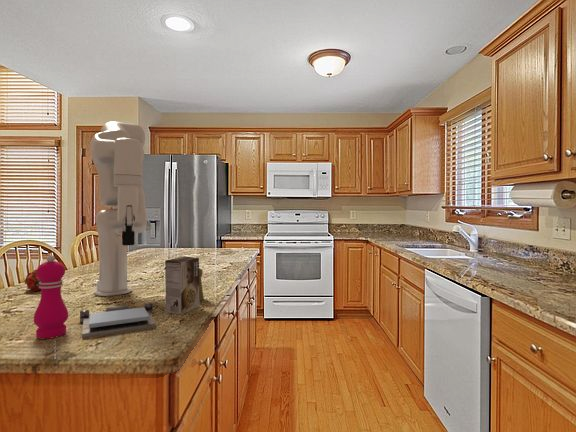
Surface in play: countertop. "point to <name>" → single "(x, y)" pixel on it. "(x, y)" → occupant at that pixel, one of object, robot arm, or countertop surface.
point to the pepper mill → (50, 300)
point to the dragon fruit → (32, 281)
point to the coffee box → (182, 284)
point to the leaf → (117, 316)
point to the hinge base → (116, 325)
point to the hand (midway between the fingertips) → (128, 244)
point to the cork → (200, 286)
